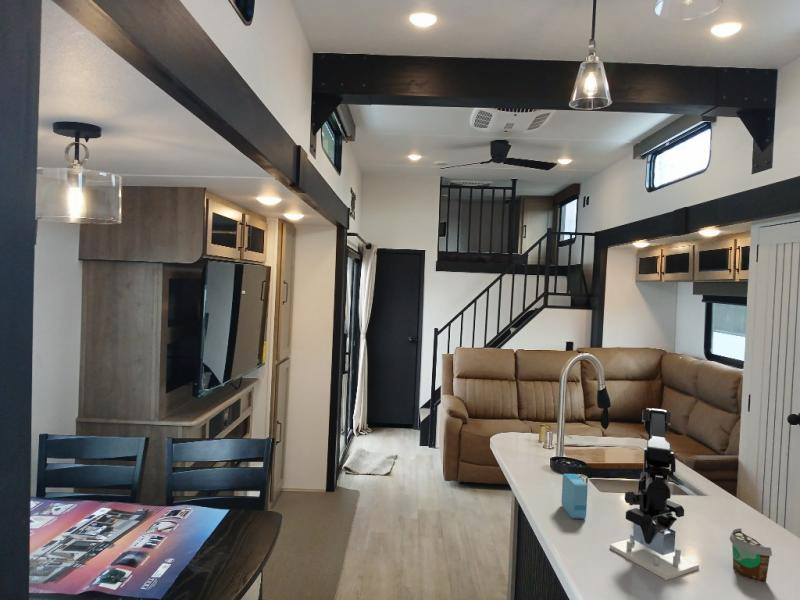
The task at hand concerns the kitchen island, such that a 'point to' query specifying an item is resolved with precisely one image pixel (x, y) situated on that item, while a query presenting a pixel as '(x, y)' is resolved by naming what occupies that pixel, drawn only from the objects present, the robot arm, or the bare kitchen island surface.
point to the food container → (749, 556)
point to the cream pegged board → (655, 559)
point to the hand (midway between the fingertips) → (653, 541)
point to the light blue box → (574, 496)
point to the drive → (657, 539)
